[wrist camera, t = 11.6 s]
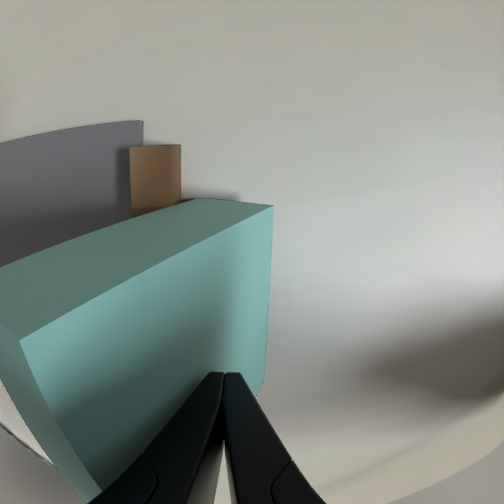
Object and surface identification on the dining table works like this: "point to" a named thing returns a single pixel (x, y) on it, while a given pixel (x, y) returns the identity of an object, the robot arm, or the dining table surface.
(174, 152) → the wooden block
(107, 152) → the mat
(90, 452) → the slab
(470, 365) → the dining table surface
